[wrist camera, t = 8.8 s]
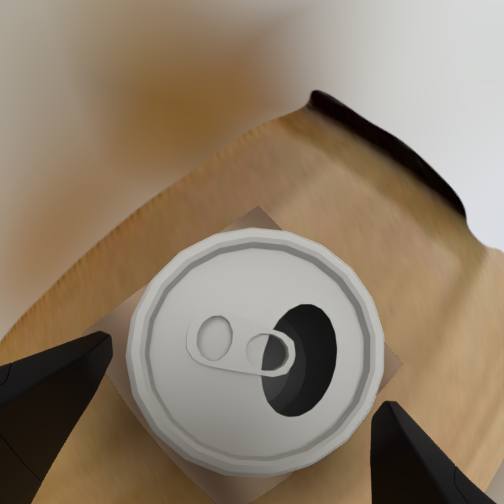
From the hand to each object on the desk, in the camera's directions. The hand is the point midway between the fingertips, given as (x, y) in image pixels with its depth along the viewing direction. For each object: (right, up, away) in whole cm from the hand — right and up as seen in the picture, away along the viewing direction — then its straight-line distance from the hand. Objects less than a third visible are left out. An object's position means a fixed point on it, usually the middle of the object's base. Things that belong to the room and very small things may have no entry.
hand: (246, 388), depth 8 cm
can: (0, -3, +9) cm, 10 cm away
